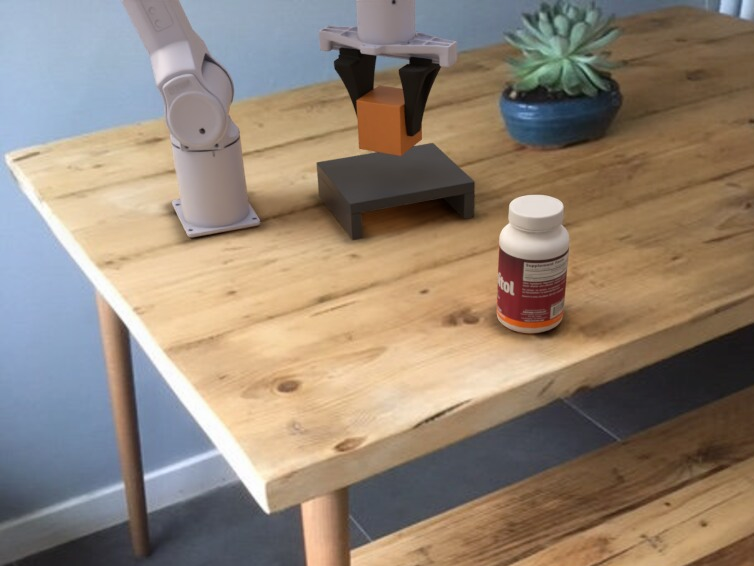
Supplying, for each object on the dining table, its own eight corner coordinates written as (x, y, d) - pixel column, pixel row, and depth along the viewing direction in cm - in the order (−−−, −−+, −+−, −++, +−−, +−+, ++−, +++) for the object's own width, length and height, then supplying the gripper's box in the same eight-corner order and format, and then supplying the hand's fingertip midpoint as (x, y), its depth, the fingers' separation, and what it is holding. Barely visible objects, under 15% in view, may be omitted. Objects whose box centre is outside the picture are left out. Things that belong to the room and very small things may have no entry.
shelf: (318, 196, 118) (316, 162, 115) (433, 176, 121) (433, 142, 119) (352, 240, 110) (350, 203, 107) (474, 217, 113) (475, 181, 110)
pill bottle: (490, 304, 98) (494, 192, 91) (555, 299, 99) (564, 187, 92) (502, 338, 94) (507, 223, 87) (569, 333, 94) (580, 217, 87)
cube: (358, 149, 109) (356, 100, 106) (380, 132, 113) (379, 85, 109) (401, 156, 108) (399, 107, 104) (422, 139, 111) (421, 91, 108)
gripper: (299, -10, 100) (310, 132, 109) (435, 5, 95) (435, 153, 104) (335, -28, 105) (343, 110, 114) (466, -14, 99) (464, 128, 108)
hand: (389, 129), depth 109 cm, fingers closed on cube, 5 cm apart
